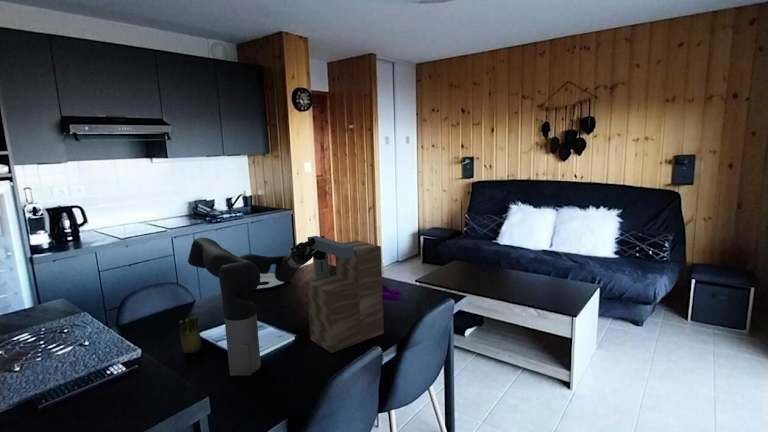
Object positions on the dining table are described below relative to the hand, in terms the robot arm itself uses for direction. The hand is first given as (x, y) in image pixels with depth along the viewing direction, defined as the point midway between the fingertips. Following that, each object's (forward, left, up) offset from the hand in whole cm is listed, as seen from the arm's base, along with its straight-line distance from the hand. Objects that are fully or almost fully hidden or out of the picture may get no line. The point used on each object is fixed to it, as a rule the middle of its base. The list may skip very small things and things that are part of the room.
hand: (318, 239), depth 149 cm
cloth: (+38, -21, -36) cm, 56 cm away
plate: (+62, +41, -35) cm, 82 cm away
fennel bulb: (-12, +43, -35) cm, 57 cm away
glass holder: (+70, +11, -35) cm, 79 cm away
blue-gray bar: (-5, -4, -3) cm, 7 cm away
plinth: (-3, -9, -35) cm, 36 cm away
